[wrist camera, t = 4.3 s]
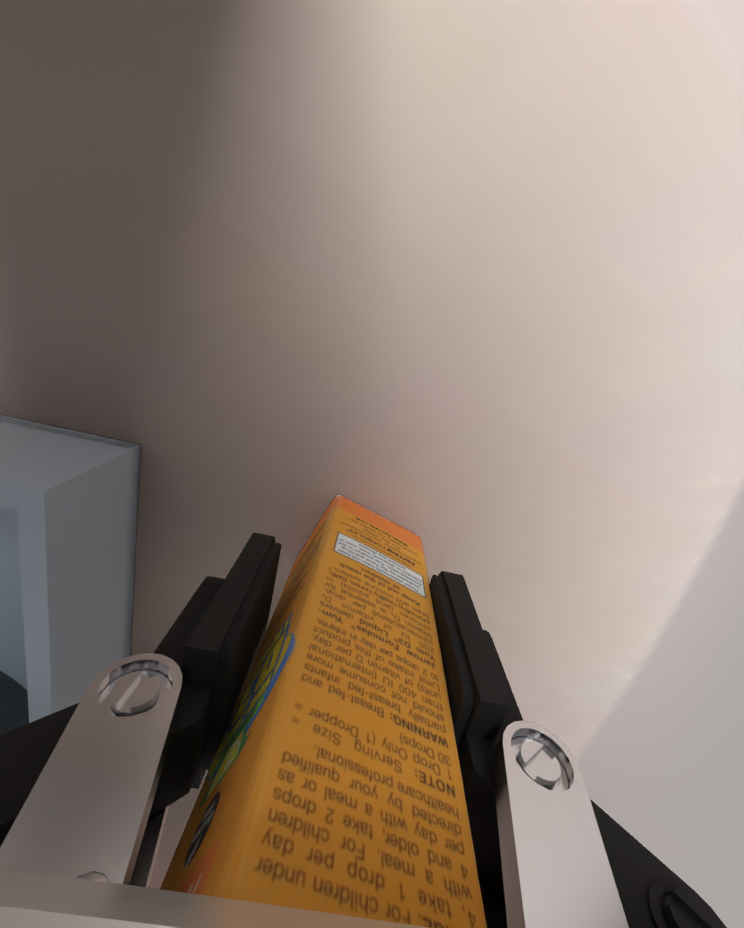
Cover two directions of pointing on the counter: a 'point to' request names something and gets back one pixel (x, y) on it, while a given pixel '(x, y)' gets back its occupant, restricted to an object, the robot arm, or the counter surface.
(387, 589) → the supplement box
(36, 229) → the counter surface
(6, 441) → the tote
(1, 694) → the tin
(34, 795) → the robot arm
